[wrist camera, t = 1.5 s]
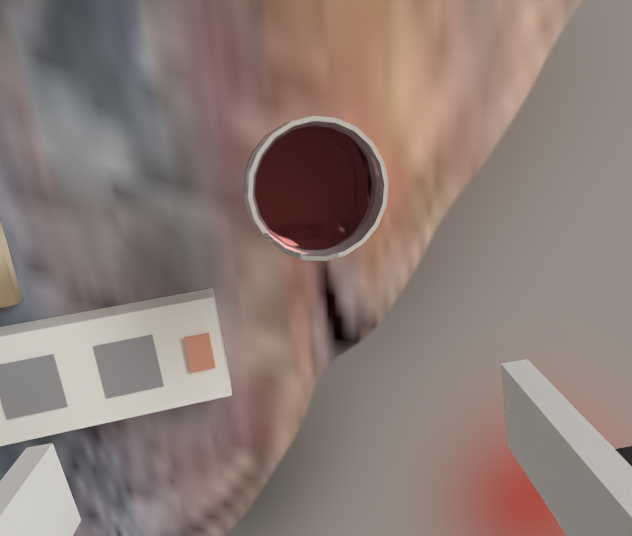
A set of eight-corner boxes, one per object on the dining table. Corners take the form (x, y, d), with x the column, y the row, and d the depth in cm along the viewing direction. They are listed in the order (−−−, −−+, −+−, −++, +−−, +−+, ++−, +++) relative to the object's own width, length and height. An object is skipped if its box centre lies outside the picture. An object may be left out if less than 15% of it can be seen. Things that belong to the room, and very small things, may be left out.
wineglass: (239, 235, 36) (254, 271, 24) (227, 133, 34) (238, 119, 23) (335, 224, 37) (393, 253, 25) (327, 126, 35) (385, 109, 24)
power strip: (-178, 359, 32) (-213, 378, 29) (212, 288, 36) (213, 298, 33) (-140, 459, 34) (-170, 485, 31) (230, 380, 38) (232, 397, 35)
